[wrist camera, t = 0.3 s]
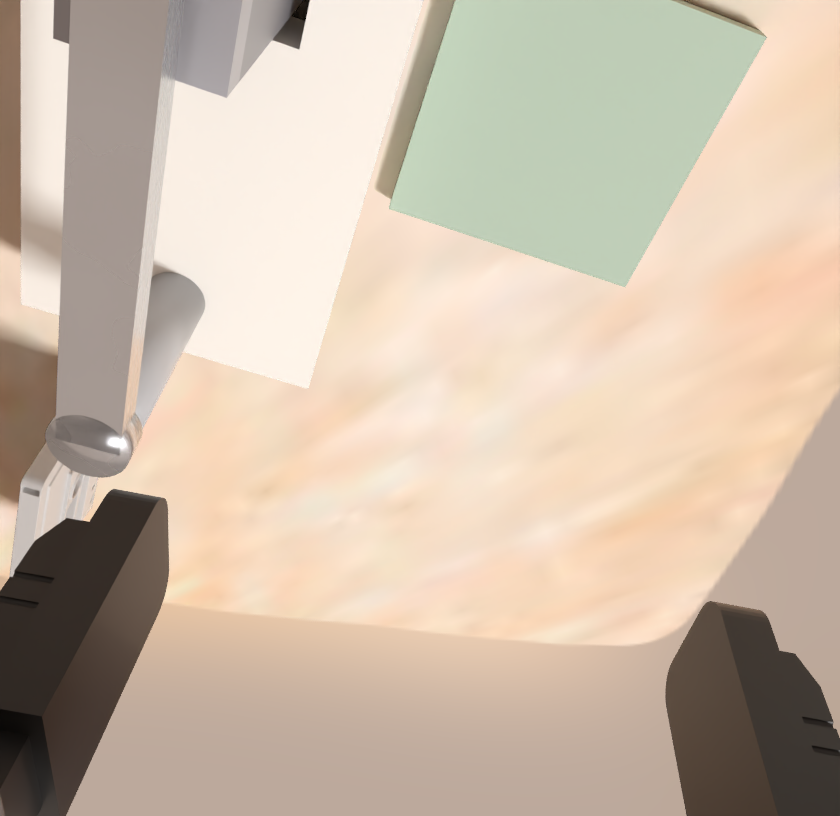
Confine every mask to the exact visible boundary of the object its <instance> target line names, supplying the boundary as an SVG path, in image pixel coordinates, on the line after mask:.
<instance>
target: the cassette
mask: <svg viewBox="0 0 840 816" xmlns="http://www.w3.org/2000/svg"><path fill="white" fill-rule="evenodd" d="M97 481H98V477H91V476H86V475H83V474H80V473H77V472H75V471H73V470H71V469H69V468H68V467H66V466H64V465H63V464H62V463H60V462H59V461H58V460H57V459H56V458H55V457H54V456H53V454H52V453H51V452H50V450H49V448H48V446H47V444H46V443H45V444H44V446H43V447H42V449H41V450H40V452H39V454H38V455H37V457H36V458H35V460H34V461H33V463H32V464H31V466H30V467H29V469H28V470H27V472H26V473H25V475H24V477H23V479H22V481H21V484H20V495H19V503H18V511H17V519H16V528H15V536H14V544H13V552H12V561H11V569H10V577H13V575H14V570H15V569H16V567H17V566H18V565H19V563H20V562H21V560H22V559H23V557H24V556H25V554H26V553H27V551H28V550H29V548H30V547H31V546H32V544H33V543H34V541H35V540H37V539H38V538H39V537H41V536H42V535H44V534H45V533H46V532H48V531H49V530H51V529H52V528H53V527H55V526H56V525H58V524H59V523H60V522H62V521H63V520H65V519H66V518H70V519H76V520H81V521H83V519H84V517H85V516H86V514H87V513H88V511H89V510H90V508H91V507H92V504H93V500H94V495H95V490H96V485H97ZM10 577H9V578H10Z"/></svg>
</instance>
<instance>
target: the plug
mask: <svg viewBox="0 0 840 816" xmlns="http://www.w3.org/2000/svg"><path fill="white" fill-rule="evenodd" d="M302 1H303V0H185V4H184V13H183V21H182V29H181V38H180V46H179V54H178V62H177V71H176V79H175V80H176V81H179V82H182V83H185V84H187V85H190V86H193V87H196V88H199V89H202V90H205V91H208V92H211V93H214V94H217V95H220V96H223V97H225V98H227V97H228V96H229V94H230V93H231V92H232V90H233V89H234V88H235V87H236V85H237V84H238V83H239V82H240V80H241V79H242V78H243V76H244V75H245V74H246V73H247V71H248V70H249V69H250V68H251V66H252V65H253V64H254V62H255V61H256V60H257V59H258V57H259V56H260V55H261V54H262V52H263V51H264V50H265V48H266V47H267V46H268V45H269V43H270V42H271V41H272V40H273V38H274V37H275V36H276V34H277V33H278V32H279V31H280V29H281V28H282V27H283V26H284V24H285V23H286V22H287V21H288V19H289V18H290V17H291V15H292V14H293V13H294V12H295V10H296V9H297V8H298V7H299V5H300V4H301V3H302ZM70 4H71V0H54V19H53V39H56V40H59V41H62V42H65V43H67V44H69V32H70Z"/></svg>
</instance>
